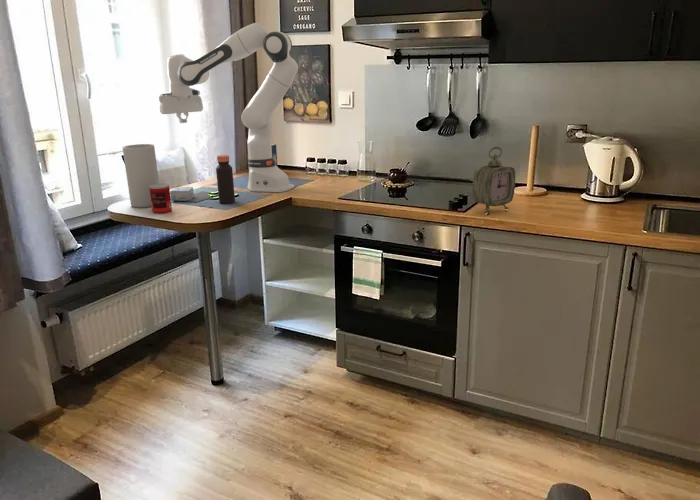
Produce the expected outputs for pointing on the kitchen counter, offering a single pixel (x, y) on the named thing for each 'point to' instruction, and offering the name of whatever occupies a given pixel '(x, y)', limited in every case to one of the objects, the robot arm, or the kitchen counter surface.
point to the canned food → (160, 198)
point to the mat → (200, 196)
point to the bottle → (225, 180)
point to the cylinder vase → (140, 173)
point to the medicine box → (182, 194)
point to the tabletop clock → (494, 183)
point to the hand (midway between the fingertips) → (183, 122)
